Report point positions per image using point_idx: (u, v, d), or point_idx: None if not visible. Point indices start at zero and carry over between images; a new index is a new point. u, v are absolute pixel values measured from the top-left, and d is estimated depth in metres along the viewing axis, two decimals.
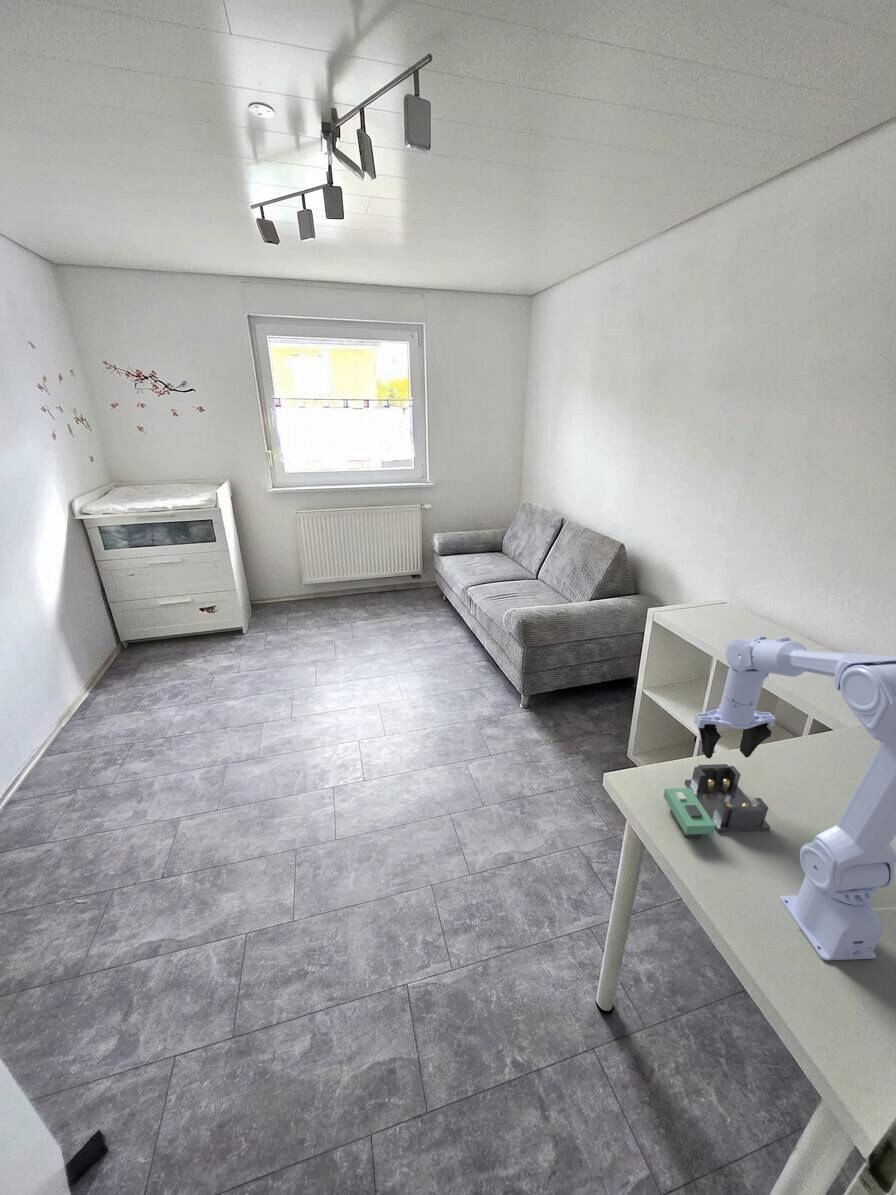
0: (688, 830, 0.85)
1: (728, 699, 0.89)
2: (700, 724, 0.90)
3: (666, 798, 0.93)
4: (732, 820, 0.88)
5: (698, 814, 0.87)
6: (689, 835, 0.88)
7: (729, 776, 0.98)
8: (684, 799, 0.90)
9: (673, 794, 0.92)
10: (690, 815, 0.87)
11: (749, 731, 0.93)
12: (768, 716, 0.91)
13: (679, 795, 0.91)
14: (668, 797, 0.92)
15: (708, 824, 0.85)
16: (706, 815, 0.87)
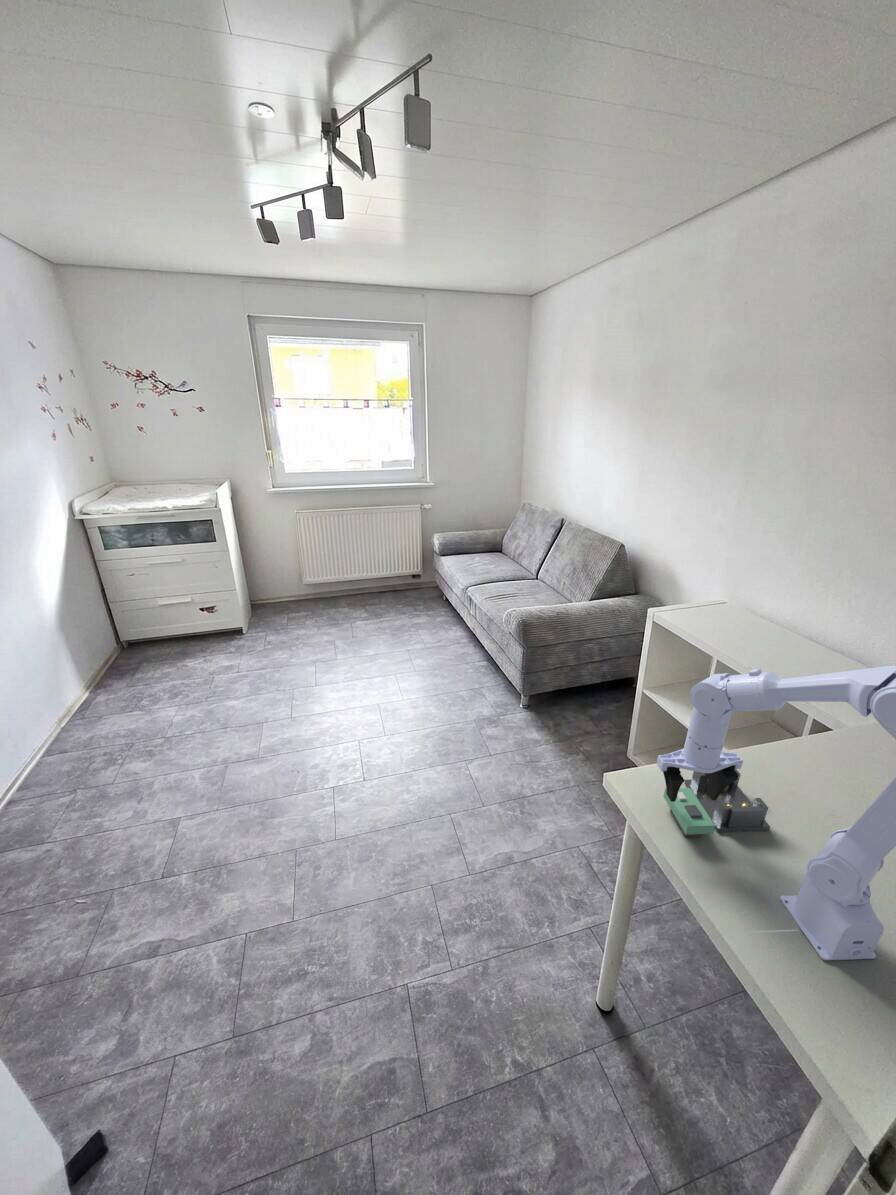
0: (688, 830, 0.85)
1: (692, 741, 0.83)
2: (662, 767, 0.84)
3: (666, 798, 0.93)
4: (732, 820, 0.88)
5: (698, 814, 0.87)
6: (689, 835, 0.88)
7: None
8: (684, 799, 0.90)
9: None
10: (690, 815, 0.87)
11: (715, 773, 0.87)
12: (735, 758, 0.85)
13: (679, 795, 0.91)
14: (668, 797, 0.92)
15: (708, 824, 0.85)
16: (706, 815, 0.87)
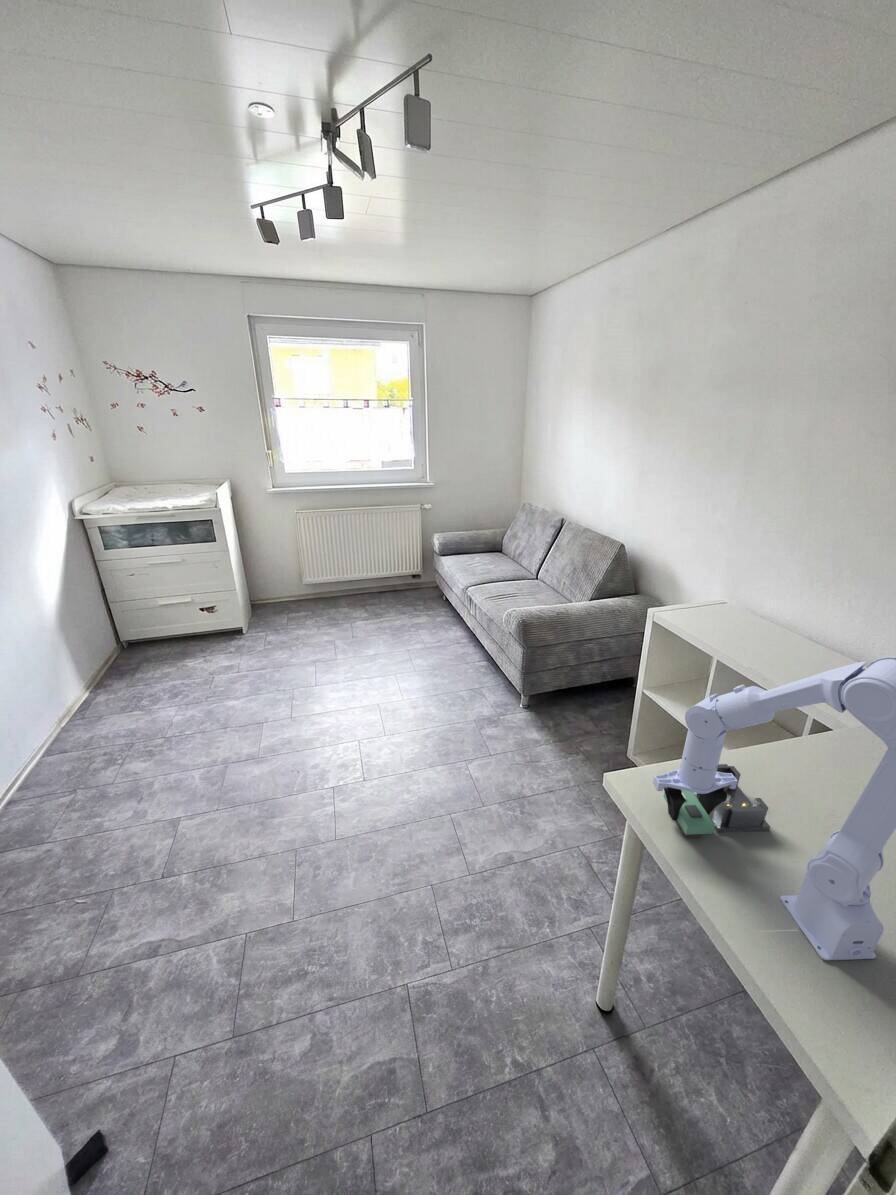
0: (688, 830, 0.85)
1: (687, 762, 0.84)
2: (658, 787, 0.86)
3: (666, 798, 0.93)
4: (732, 820, 0.88)
5: (698, 814, 0.87)
6: (689, 835, 0.88)
7: None
8: None
9: None
10: (690, 815, 0.87)
11: (705, 793, 0.88)
12: (730, 778, 0.87)
13: None
14: None
15: (708, 824, 0.85)
16: (706, 815, 0.87)
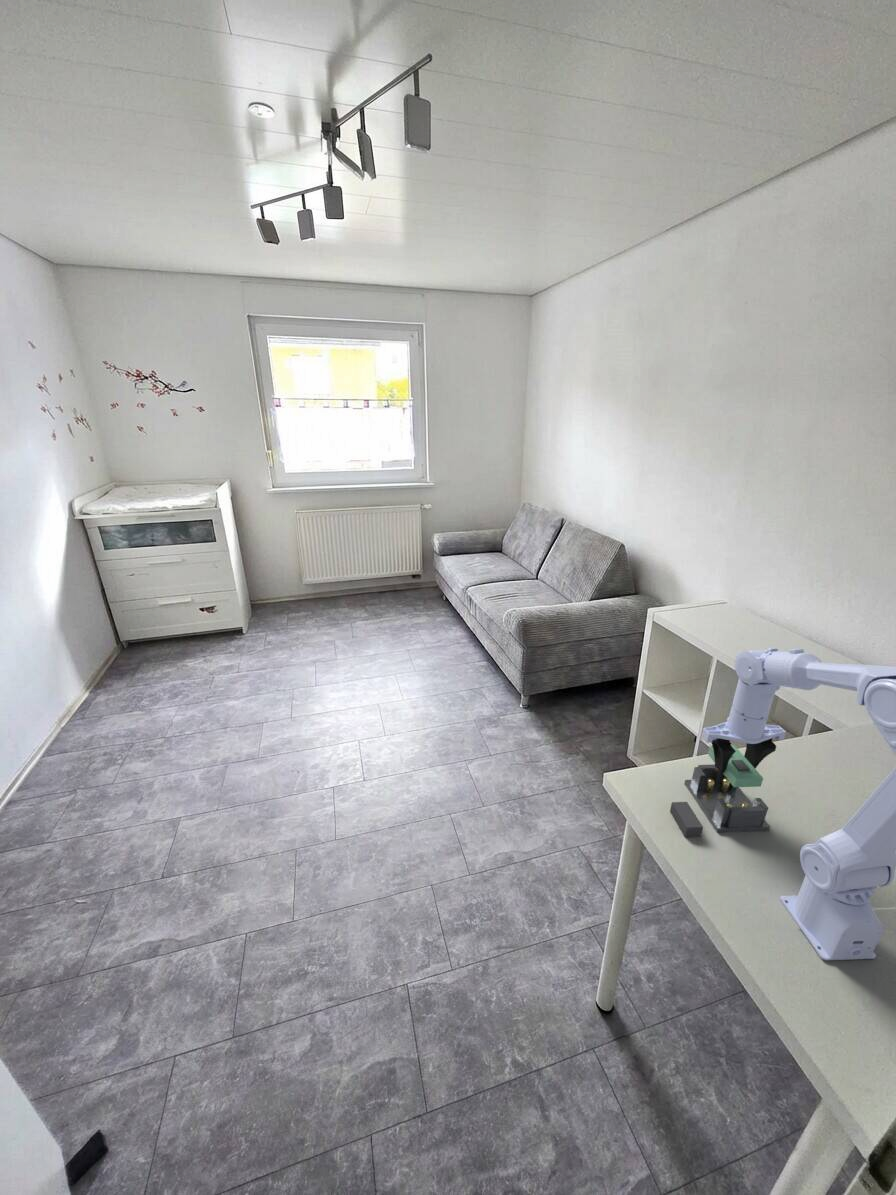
0: (736, 783, 0.87)
1: (737, 713, 0.85)
2: (708, 738, 0.87)
3: (711, 755, 0.94)
4: (732, 820, 0.88)
5: (746, 767, 0.88)
6: (689, 835, 0.88)
7: None
8: None
9: None
10: (738, 769, 0.88)
11: (753, 745, 0.89)
12: (778, 729, 0.88)
13: None
14: (713, 753, 0.93)
15: (756, 777, 0.87)
16: (753, 769, 0.89)
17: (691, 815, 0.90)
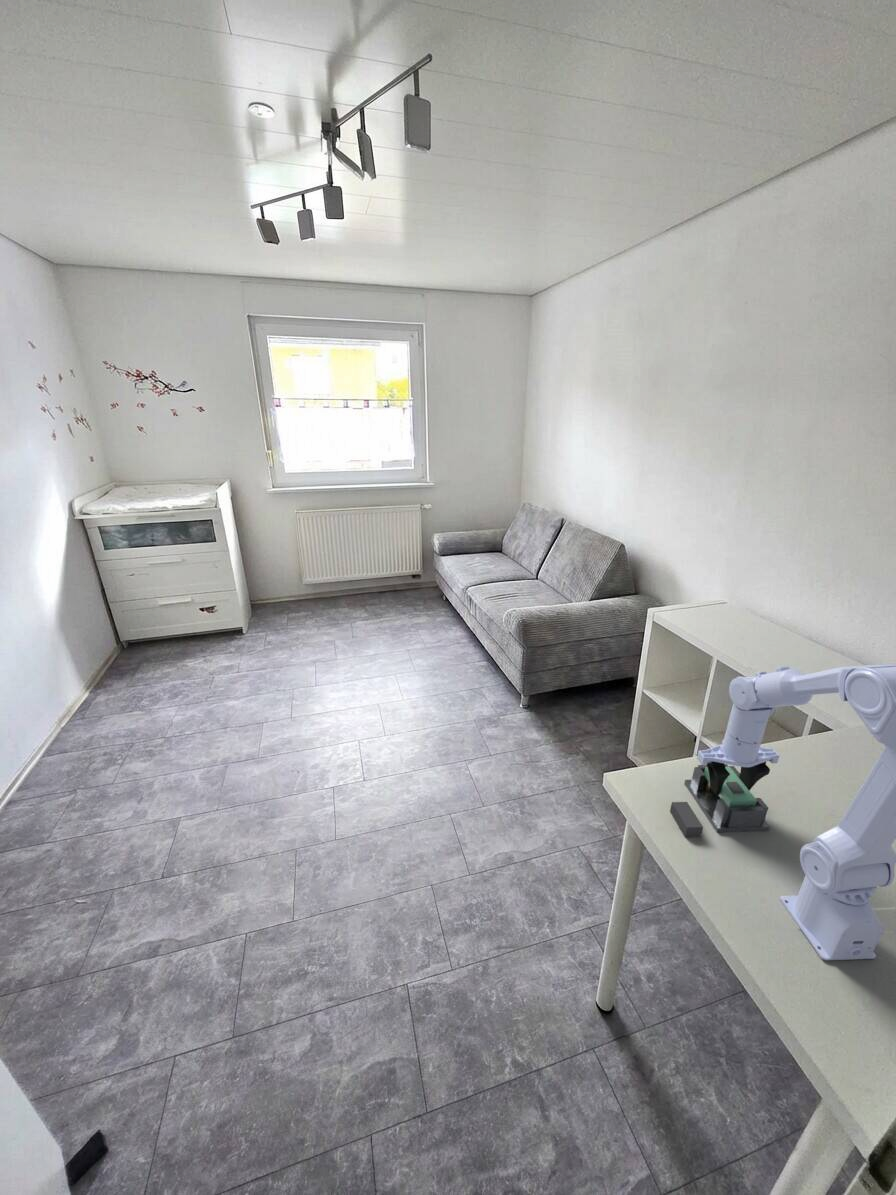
0: (731, 805, 0.89)
1: (732, 737, 0.87)
2: (703, 761, 0.89)
3: (706, 776, 0.96)
4: (732, 820, 0.88)
5: (740, 789, 0.90)
6: (689, 835, 0.88)
7: None
8: None
9: None
10: (732, 791, 0.90)
11: (747, 767, 0.91)
12: (772, 753, 0.90)
13: None
14: None
15: (750, 799, 0.89)
16: (747, 791, 0.91)
17: (691, 815, 0.90)
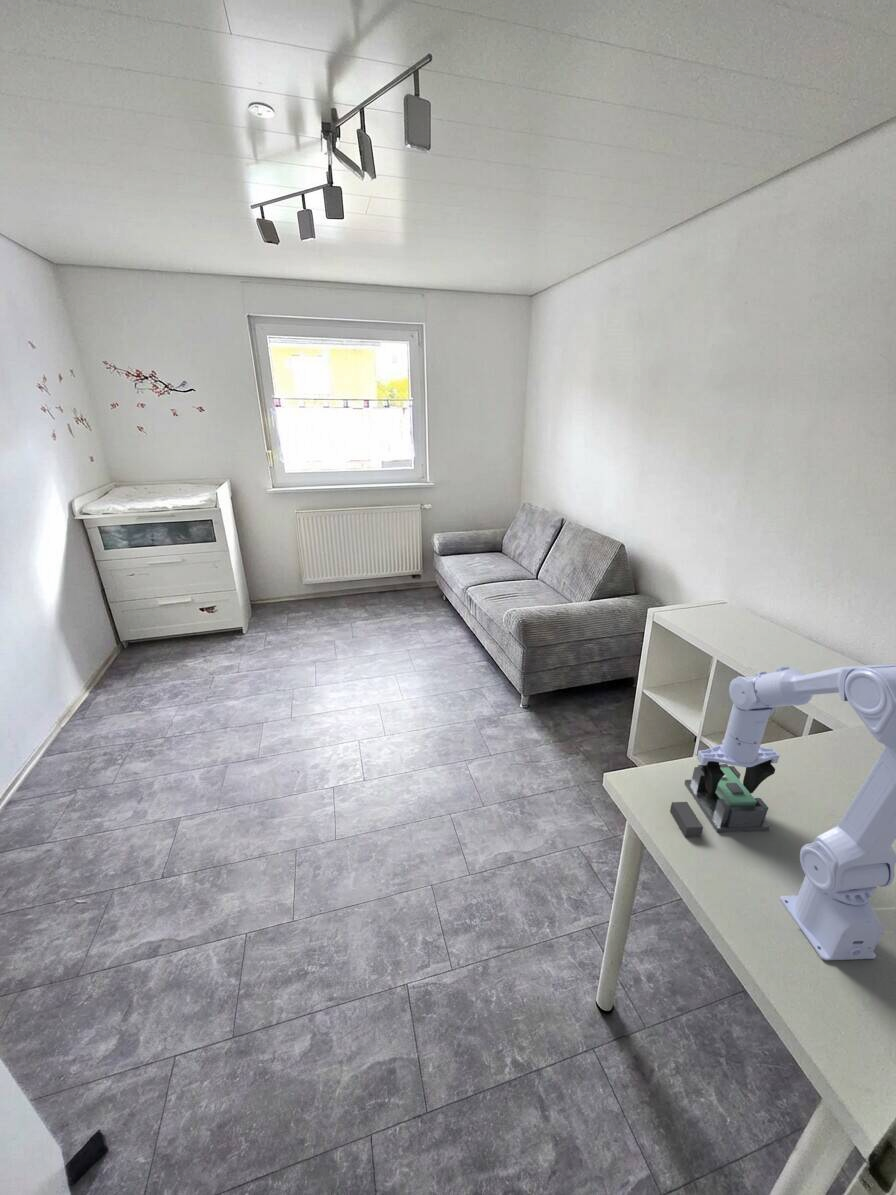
0: (731, 806, 0.89)
1: (732, 737, 0.87)
2: (703, 761, 0.89)
3: None
4: (732, 820, 0.88)
5: (740, 790, 0.90)
6: (689, 835, 0.88)
7: None
8: (724, 777, 0.94)
9: None
10: (732, 792, 0.90)
11: (752, 767, 0.92)
12: (772, 753, 0.90)
13: None
14: None
15: (750, 800, 0.89)
16: (747, 792, 0.91)
17: (691, 815, 0.90)
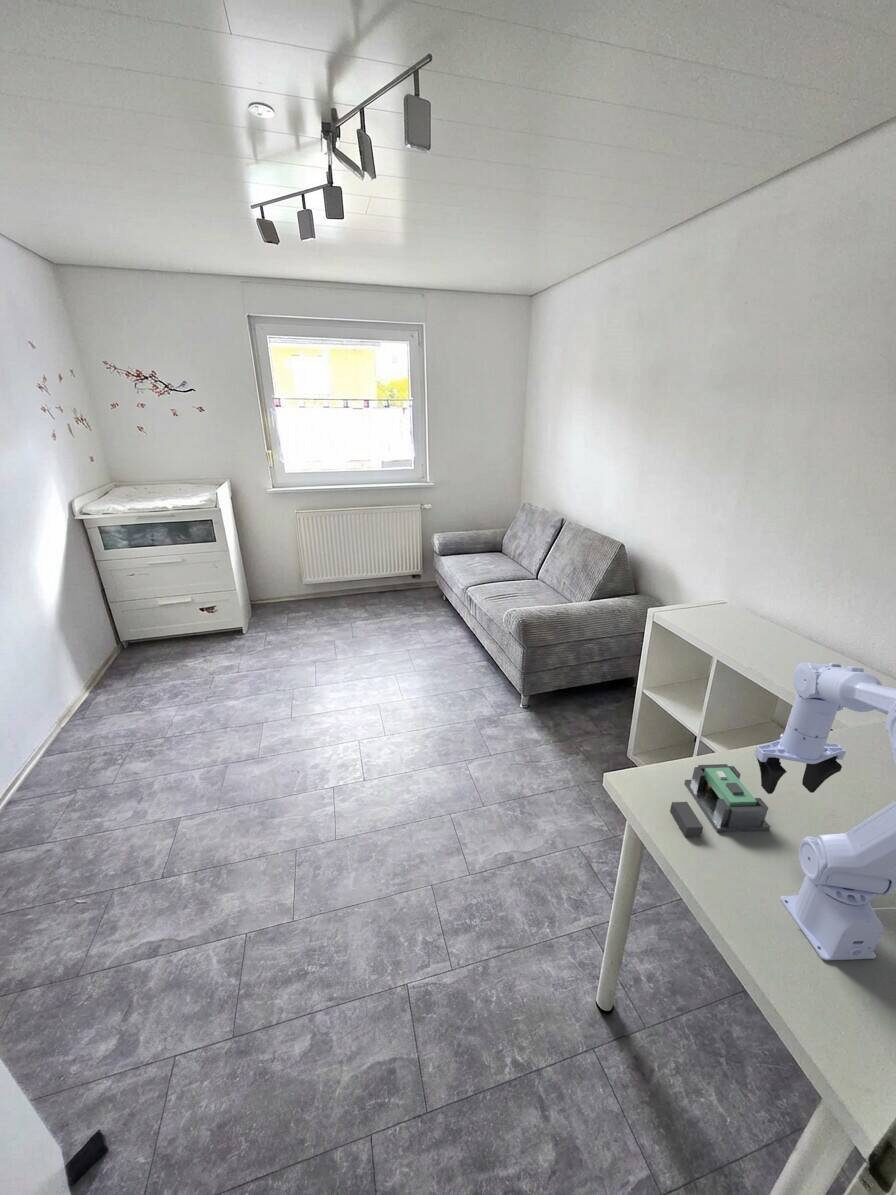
0: (731, 806, 0.89)
1: (795, 730, 0.80)
2: (763, 758, 0.82)
3: (706, 777, 0.96)
4: (732, 820, 0.88)
5: (740, 790, 0.90)
6: (689, 835, 0.88)
7: None
8: (724, 777, 0.94)
9: (713, 773, 0.96)
10: (732, 792, 0.90)
11: (815, 764, 0.84)
12: (837, 748, 0.82)
13: (719, 774, 0.95)
14: (708, 776, 0.96)
15: (750, 800, 0.89)
16: (747, 792, 0.91)
17: (691, 815, 0.90)
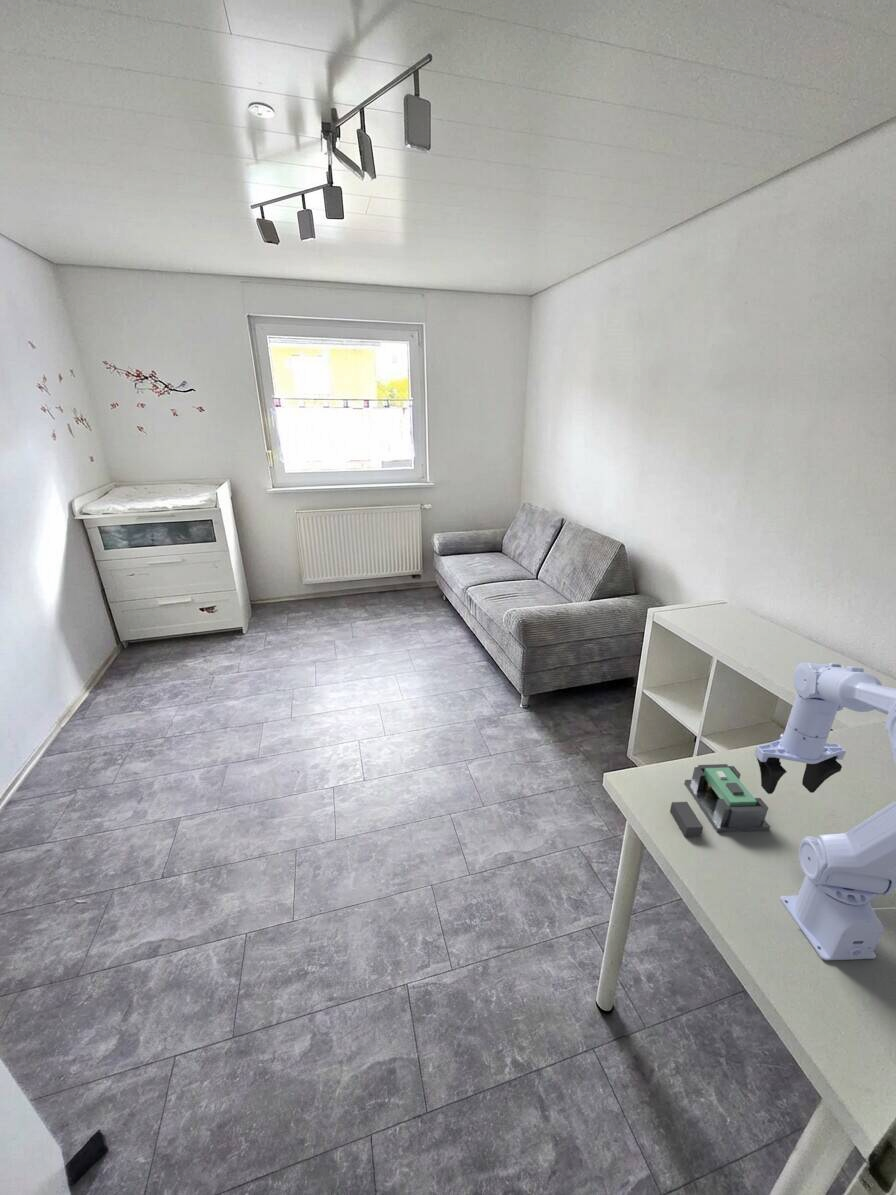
0: (731, 806, 0.89)
1: (795, 730, 0.80)
2: (763, 758, 0.82)
3: (706, 777, 0.96)
4: (732, 820, 0.88)
5: (740, 790, 0.90)
6: (689, 835, 0.88)
7: None
8: (724, 777, 0.94)
9: (713, 773, 0.96)
10: (732, 792, 0.90)
11: (815, 764, 0.84)
12: (837, 748, 0.82)
13: (719, 774, 0.95)
14: (708, 776, 0.96)
15: (750, 800, 0.89)
16: (747, 792, 0.91)
17: (691, 815, 0.90)
